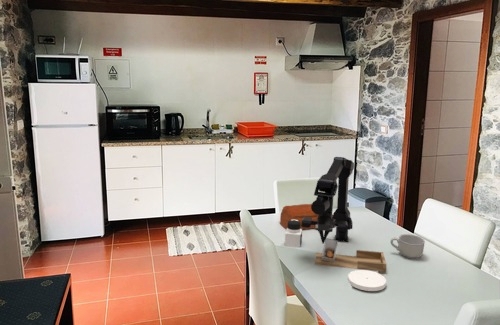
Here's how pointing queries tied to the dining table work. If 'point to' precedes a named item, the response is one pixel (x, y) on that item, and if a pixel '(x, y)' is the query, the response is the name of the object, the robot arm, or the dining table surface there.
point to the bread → (297, 214)
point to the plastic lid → (367, 280)
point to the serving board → (357, 261)
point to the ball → (329, 254)
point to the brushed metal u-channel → (329, 249)
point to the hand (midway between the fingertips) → (323, 243)
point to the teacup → (409, 245)
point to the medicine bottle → (293, 234)
